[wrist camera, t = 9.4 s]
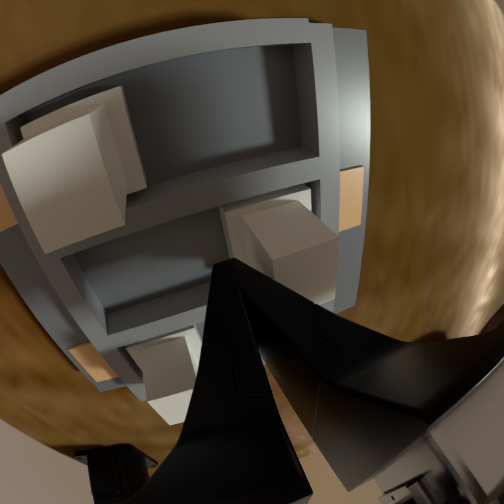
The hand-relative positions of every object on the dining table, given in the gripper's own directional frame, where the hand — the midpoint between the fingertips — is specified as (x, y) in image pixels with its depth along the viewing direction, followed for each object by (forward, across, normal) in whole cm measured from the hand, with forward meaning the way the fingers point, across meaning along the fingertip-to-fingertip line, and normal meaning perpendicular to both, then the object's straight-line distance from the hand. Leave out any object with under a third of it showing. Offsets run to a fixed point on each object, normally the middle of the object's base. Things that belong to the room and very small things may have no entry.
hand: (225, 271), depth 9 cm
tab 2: (+2, +3, +5) cm, 6 cm away
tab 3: (+2, -2, 0) cm, 3 cm away
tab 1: (+2, +3, -4) cm, 6 cm away
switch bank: (+4, 0, 0) cm, 4 cm away
